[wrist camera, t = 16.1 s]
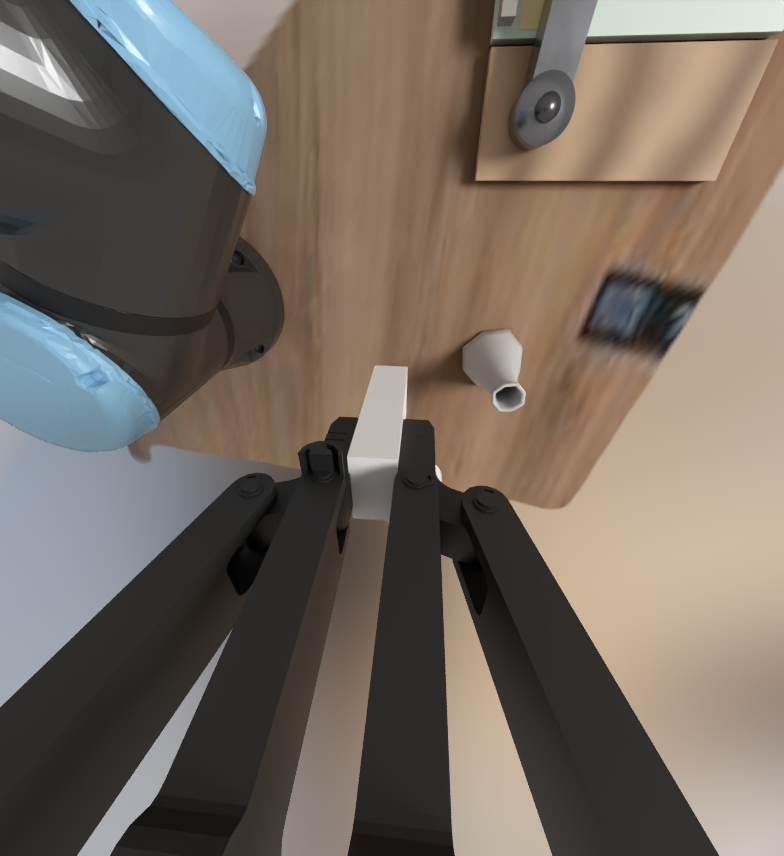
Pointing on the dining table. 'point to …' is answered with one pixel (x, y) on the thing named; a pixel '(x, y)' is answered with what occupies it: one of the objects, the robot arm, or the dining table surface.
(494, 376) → the flask
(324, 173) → the dining table surface
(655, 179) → the board
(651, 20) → the door panel
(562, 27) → the latch bar
